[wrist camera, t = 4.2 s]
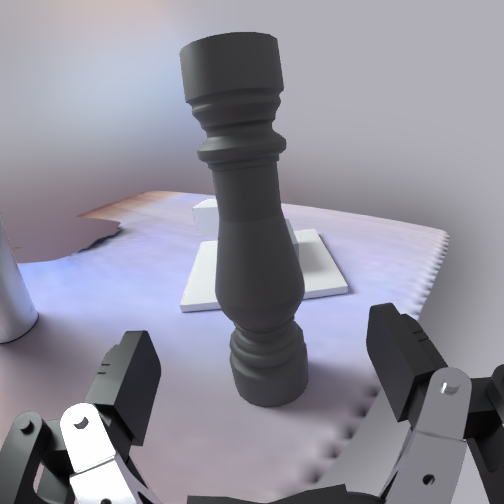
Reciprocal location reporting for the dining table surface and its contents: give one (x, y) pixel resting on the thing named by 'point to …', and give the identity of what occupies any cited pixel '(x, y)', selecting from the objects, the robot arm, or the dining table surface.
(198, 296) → the collar board
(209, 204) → the white cube
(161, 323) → the dining table surface
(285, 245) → the candle holder
